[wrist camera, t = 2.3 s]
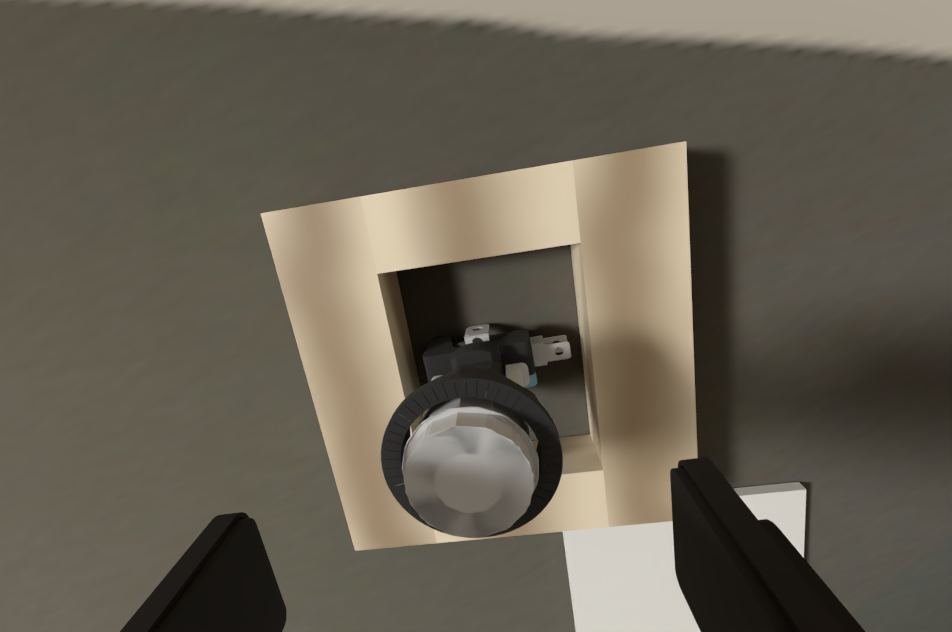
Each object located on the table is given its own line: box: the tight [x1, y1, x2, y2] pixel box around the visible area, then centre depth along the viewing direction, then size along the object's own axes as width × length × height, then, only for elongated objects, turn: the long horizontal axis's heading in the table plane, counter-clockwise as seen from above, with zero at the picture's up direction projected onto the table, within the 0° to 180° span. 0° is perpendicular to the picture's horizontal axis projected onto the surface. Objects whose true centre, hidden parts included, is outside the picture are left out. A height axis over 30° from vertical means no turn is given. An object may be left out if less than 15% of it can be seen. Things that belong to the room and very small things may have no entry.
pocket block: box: [261, 141, 698, 551], centre depth 20 cm, size 16×16×3 cm
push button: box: [381, 324, 571, 538], centre depth 17 cm, size 7×5×10 cm
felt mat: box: [563, 482, 806, 632], centre depth 25 cm, size 12×12×1 cm
